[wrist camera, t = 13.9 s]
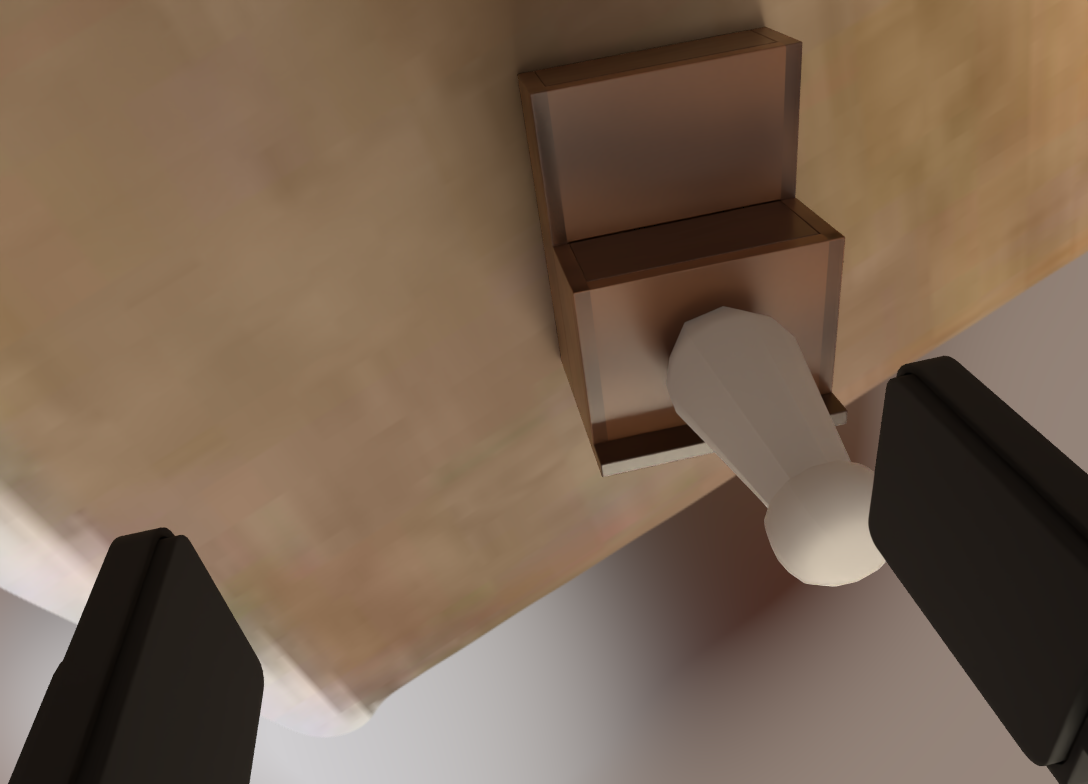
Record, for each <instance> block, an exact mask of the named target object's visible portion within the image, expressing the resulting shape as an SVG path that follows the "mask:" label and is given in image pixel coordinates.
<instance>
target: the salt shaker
mask: <svg viewBox="0 0 1088 784" xmlns="http://www.w3.org/2000/svg"><path fill="white" fill-rule="evenodd" d="M666 385H667V389H668V392H669V394H670V397H671V400H672V403H673V405H674V408H675V411H676V413H677V414H678V415H679V416H680V417H681V418H682V419H683V420H684V421H685V422H686V423H687V424H688V425H689V426H690V427H691V428H692V429H693V431H694V432H695V433H696V434H697V435H698V436H699V437H700V438H701V439H702V440H703V441H704V442H705V443H706V444H707V445H708V446H709V447H710V448H711V449H712V450H713V451H714V452H715V453H716V454H717V455H718V456H719V457H720V458H721V459H722V460H723V462H724V463H725V464H726V465H727V466H728V467H729V468H730V469H731V470H732V471H733V472H734V473H735V474H736V475H737V476H738V477H739V478H740V479H741V480H742V481H743V482H744V483H745V484H746V485H747V486H748V487H749V488H750V489H751V490H752V491H753V493H754V494H755V495H757V497H758V498H759V499H760V500H761V501H762V502H763V503H764V504H765V506H766V507H767V508H768V511H767V513H766V516H765V520H764V523H765V529H766V532H767V535H768V538H769V541H770V544H771V547H772V548H773V551H774V552H775V555H776V557H777V559H778V560H779V561H780V563H781V564H782V565H783V566H784V567H785V568H786V569H787V571H788V572H789V573H791V574H792V575H793V576H795V577H796V578H798V579H799V580H801V581H802V582H803V583H807V584H814V585H824V586H839V585H843V584H848V583H852V582H856V581H859V580H861V579H862V578H864V577H866V576H868V575H869V574H871V573H873V572H875V571H877V570H878V569H879V568H880V567H881V566H882V565H883V564H884V563H885V562H886V560H885V559H884V558H883V556H882V555H881V554H880V552H879V551H878V549H877V548H876V546H875V545H874V543H873V541H872V538H871V535H870V532H869V527H868V517H869V510H870V503H871V495H872V488H873V481H874V472H873V471H872V470H871V469H869V468H868V467H866V466H864V465H862V464H858V463H852V462H851V461H850V459H849V456H848V454H847V452H846V450H845V448H844V446H843V443H842V441H841V439H840V437H839V434H838V432H837V430H836V428H835V425H834V423H833V421H832V419H831V417H830V414H829V412H828V410H827V408H826V405H825V403H824V401H823V399H822V397H821V394H820V392H819V390H818V388H817V385H816V383H815V381H814V379H813V377H812V374H811V372H810V370H809V368H808V366H807V363H806V361H805V359H804V357H803V354H802V352H801V350H800V348H799V346H798V343H797V341H796V339H795V337H794V336H793V335H791V334H790V333H789V332H788V331H787V330H786V329H785V328H783V327H782V326H781V325H780V324H779V323H778V322H777V321H775V320H774V319H772V318H771V317H769V316H765V315H760V314H756V313H752V312H747V311H743V310H739V309H734V308H729V307H725V306H722V307H720V308H717V309H715V310H713V311H710V312H708V313H706V314H703V315H701V316H699V317H696V318H694V319H692V320H689V321H687V322H685V323H684V325H683V327H682V330H681V332H680V334H679V336H678V339H677V341H676V343H675V346H674V348H673V350H672V352H671V355H670V357H669V365H668V372H667V380H666Z"/></svg>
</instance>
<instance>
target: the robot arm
mask: <svg viewBox="0 0 1088 784" xmlns="http://www.w3.org/2000/svg"><path fill="white" fill-rule="evenodd" d="M868 527H869V532H870V535H871V538H872V541H873V543H874V545H875V546H876V548H877V549H878V551H879V552H880V554H881V555H882V556H883V558H884V559H885V560H886V562H887V563H888V565H889V566H890V567H891V569H892V570H893V572H894V573H895V574H896V576H897V577H898V579H899V580H900V581H901V583H902V584H903V585H904V587H905V588H906V590H907V591H908V593H909V594H910V595H911V597H912V598H913V599H914V601H915V602H916V604H917V605H918V606H919V608H920V609H921V611H922V612H923V613H924V615H925V616H926V617H927V619H928V620H929V622H930V623H931V624H932V626H933V627H934V629H935V630H936V631H937V633H938V634H939V636H940V637H941V638H942V640H943V641H944V643H945V644H946V645H947V647H948V648H949V650H950V651H951V652H952V654H953V655H954V657H955V658H956V659H957V661H958V662H959V663H960V665H961V666H962V668H963V669H964V670H965V672H966V673H967V675H968V676H969V677H970V679H971V680H972V682H973V683H974V684H975V686H976V687H977V689H978V690H979V691H980V693H981V694H982V696H983V697H984V698H985V700H986V701H987V702H988V704H989V705H990V707H991V708H992V709H993V711H994V712H995V714H996V715H997V716H998V718H999V719H1000V721H1001V722H1002V723H1003V725H1004V726H1005V728H1006V729H1007V730H1008V732H1009V733H1010V734H1011V736H1012V737H1013V738H1014V740H1015V741H1016V743H1017V744H1018V746H1019V747H1020V748H1021V750H1022V751H1023V752H1024V754H1025V755H1026V756H1027V757H1028V758H1029V759H1030V760H1031V761H1032V762H1033V763H1035V764H1036V765H1039V766H1047V767H1048V769H1049V770H1050V772H1051V773H1052V774H1053V776H1054V777H1055V778H1056V780H1057V781H1058V782H1059V784H1088V474H1087V473H1085V472H1084V471H1083V470H1082V469H1081V468H1080V467H1079V466H1077V465H1076V464H1075V463H1074V462H1073V461H1072V460H1071V459H1069V458H1068V457H1067V456H1066V455H1065V454H1064V453H1062V452H1061V451H1060V450H1059V449H1058V448H1057V447H1056V446H1054V445H1053V444H1052V443H1051V442H1050V441H1049V440H1047V439H1046V438H1045V437H1044V436H1043V435H1042V434H1041V433H1039V432H1038V431H1037V430H1036V429H1035V428H1034V427H1032V426H1031V425H1030V424H1029V423H1028V422H1027V421H1025V420H1024V419H1023V418H1022V417H1021V416H1020V415H1018V414H1017V413H1016V412H1015V411H1014V410H1013V409H1012V408H1010V407H1009V406H1008V405H1007V404H1006V403H1005V402H1004V401H1002V400H1001V399H1000V398H999V397H998V396H997V395H996V394H994V393H993V392H992V391H991V390H990V389H989V388H987V387H986V386H985V385H984V384H983V383H982V382H981V381H979V380H978V379H977V378H976V377H975V376H973V375H972V374H971V373H970V372H969V371H968V370H966V369H965V368H964V367H963V366H962V365H961V364H960V363H959V362H957V361H956V360H955V359H953V358H951V357H949V356H941V357H937V358H932V359H927V360H923V361H918V362H913V363H909V364H905V365H903V366H901V368H900V369H899V370H898V373H897V377H896V378H893V379H890V380H889V382H888V383H887V387H886V393H885V400H884V408H883V415H882V422H881V430H880V437H879V445H878V451H877V459H876V466H875V473H874V481H873V488H872V495H871V503H870V510H869V517H868ZM263 689H264V677H263V670H262V667H261V664H260V661H259V659H258V657H257V656H256V654H255V652H254V651H253V649H252V647H251V645H250V644H249V642H248V640H247V638H246V637H245V635H244V633H243V632H242V630H241V628H240V626H239V625H238V623H237V621H236V620H235V618H234V616H233V614H232V613H231V611H230V609H229V607H228V606H227V604H226V602H225V601H224V599H223V597H222V595H221V594H220V592H219V590H218V589H217V587H216V585H215V583H214V582H213V580H212V578H211V576H210V575H209V573H208V571H207V570H206V568H205V566H204V564H203V563H202V561H201V559H200V557H199V556H198V554H197V552H196V551H195V549H194V547H193V545H192V544H191V542H190V541H189V539H188V538H187V537H186V536H184V535H178V536H174V534H173V533H172V532H171V531H170V530H169V529H167V528H157V529H152V530H148V531H143V532H139V533H134V534H129V535H125V536H120V537H118V538H116V539H115V540H114V541H113V542H112V544H111V545H110V547H109V550H108V552H107V555H106V557H105V560H104V562H103V564H102V567H101V569H100V572H99V574H98V577H97V579H96V582H95V584H94V586H93V589H92V591H91V594H90V596H89V599H88V601H87V603H86V606H85V608H84V611H83V613H82V616H81V618H80V621H79V623H78V625H77V628H76V630H75V633H74V635H73V638H72V640H71V642H70V645H69V647H68V650H67V652H66V655H65V657H64V660H63V661H62V662H61V663H60V664H59V666H58V668H57V670H56V671H55V673H54V675H53V677H52V680H51V682H50V684H49V687H48V689H47V691H46V694H45V696H44V699H43V701H42V703H41V706H40V708H39V711H38V713H37V715H36V718H35V720H34V723H33V725H32V728H31V730H30V732H29V735H28V737H27V739H26V742H25V744H24V747H23V749H22V752H21V754H20V757H19V759H18V761H17V764H16V766H15V769H14V771H13V773H12V776H11V778H10V780H9V783H8V784H249V782H250V775H251V769H252V763H253V756H254V748H255V743H256V736H257V730H258V723H259V716H260V710H261V703H262V697H263Z"/></svg>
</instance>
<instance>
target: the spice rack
mask: <svg viewBox="0 0 1088 784" xmlns="http://www.w3.org/2000/svg"><path fill="white" fill-rule="evenodd" d="M801 61H802V42H801V41H799V40H796V39H794V38H791V37H789V36H786V35H784V34H782V33H779V32H777V31H774V30H772V29H769V28H767V27H762V28H757V29H752V30H746V31H741V32H736V33H731V34H725V35H720V36H715V37H710V38H704V39H699V40H694V41H689V42H683V43H678V44H673V45H668V46H662V47H657V48H652V49H647V50H641V51H636V52H631V53H626V54H620V55H615V56H610V57H605V58H599V59H594V60H589V61H584V62H578V63H573V64H568V65H563V66H557V67H552V68H547V69H542V70H536V71H531V72H526V73H521V74H518V75H517V76H518V82H519V89H520V95H521V102H522V108H523V115H524V121H525V128H526V134H527V141H528V147H529V154H530V160H531V167H532V173H533V180H534V186H535V193H536V199H537V206H538V212H539V219H540V225H541V232H542V238H543V245H544V251H545V258H546V264H547V271H548V277H549V284H550V290H551V297H552V303H553V310H554V316H555V323H556V329H557V336H558V342H559V349H560V355H561V361H562V364H563V367H564V370H565V373H566V375H567V378H568V381H569V384H570V387H571V390H572V392H573V395H574V398H575V401H576V404H577V407H578V409H579V412H580V415H581V418H582V421H583V424H584V427H585V429H586V432H587V435H588V438H589V441H590V444H591V446H592V449H593V452H594V455H595V458H596V461H597V463H598V466H599V469H600V472H601V475H602V477H606V476H610V475H615V474H620V473H624V472H629V471H633V470H638V469H642V468H647V467H651V466H656V465H660V464H665V463H669V462H674V461H678V460H683V459H688V458H692V457H697V456H701V455H706V454H710V453H715V452H714V451H713V450H712V449H711V448H710V447H709V446H708V445H707V444H706V443H705V442H704V441H703V440H702V439H701V438H700V437H699V436H698V435H697V434H696V433H695V432H694V431H693V429H692V428H691V427H690V426H689V425H688V424H687V423H686V422H685V421H684V420H683V419H682V418H681V417H680V416H679V415H678V414H677V413H676V411H675V408H674V405H673V403H672V400H671V397H670V394H669V392H668V389H667V385H666V380H667V372H668V365H669V357H670V355H671V352H672V350H673V348H674V346H675V343H676V341H677V339H678V336H679V334H680V332H681V330H682V327H683V325H684V323H685V322H687V321H689V320H692V319H694V318H696V317H699V316H701V315H703V314H706V313H708V312H710V311H713V310H715V309H717V308H720V307H722V306H725V307H729V308H734V309H739V310H743V311H747V312H752V313H756V314H760V315H765V316H769V317H771V318H772V319H774V320H775V321H777V322H778V323H779V324H780V325H781V326H782V327H783V328H785V329H786V330H787V331H788V332H789V333H790V334H791V335H793V336H794V337H795V339H796V341H797V343H798V346H799V348H800V350H801V352H802V354H803V357H804V359H805V361H806V363H807V366H808V368H809V370H810V372H811V374H812V377H813V379H814V381H815V383H816V385H817V388H818V390H819V392H820V394H821V397H822V399H823V401H824V403H825V405H826V408H827V410H828V412H829V414H830V417H831V419H832V421H833V423H834V425H835V426H837V425H842V424H846V421H847V410H846V408H845V407H844V406H843V405H842V404H841V402H840V401H839V400H838V399H837V398H836V397H835V395H834V394H833V393H832V384H833V373H834V361H835V350H836V338H837V327H838V315H839V304H840V292H841V281H842V269H843V258H844V246H845V237H844V236H843V235H842V234H841V233H839V232H838V231H837V230H835V229H834V228H833V227H832V226H830V225H829V224H828V223H827V222H825V221H824V220H823V219H822V218H820V217H819V216H818V215H817V214H815V213H814V212H813V211H812V210H810V209H809V208H808V207H807V206H805V205H804V204H803V203H802V202H800V201H799V200H798V199H797V198H795V192H796V170H797V149H798V127H799V105H800V83H801ZM745 206H748V207H746V208H741V209H736V210H731V211H726V212H721V211H725V210H730V209H735V208H740V207H745ZM716 212H721V213H716ZM711 213H716V214H712V215H707V216H702V217H697V218H692V219H687V220H682V221H677V222H672V223H667V224H662V225H657V224H661V223H666V222H671V221H676V220H681V219H686V218H691V217H696V216H701V215H706V214H711ZM652 225H657V226H653V227H648V228H643V229H638V230H633V231H628V232H623V233H618V234H613V235H608V236H603V237H598V238H593V237H597V236H602V235H607V234H612V233H617V232H622V231H627V230H632V229H637V228H642V227H647V226H652ZM588 238H593V239H589V240H584V241H579V242H574V243H570V244H569V242H573V241H578V240H583V239H588Z"/></svg>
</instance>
